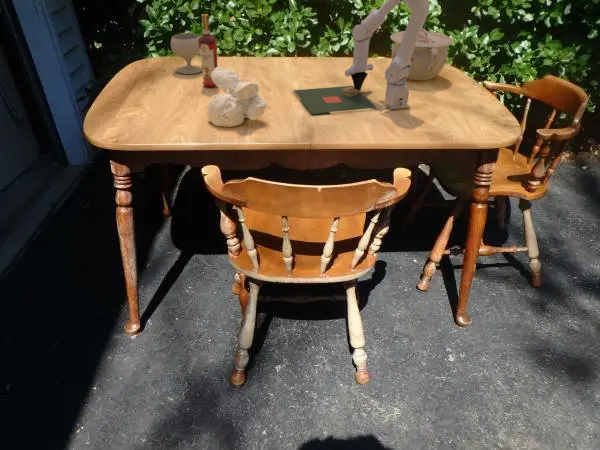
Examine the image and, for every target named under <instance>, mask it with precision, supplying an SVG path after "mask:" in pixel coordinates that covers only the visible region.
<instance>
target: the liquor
mask: <svg viewBox="0 0 600 450" xmlns="http://www.w3.org/2000/svg"><path fill="white" fill-rule="evenodd" d="M201 21H202V35H201V36H200V38H199V39H198V43H199V51H200V54H199V57H200V62H201V64H200V65H201V67H202V71H201V72H202V78H203V81H202V84H203V85H204V86H205V87H207V88H216V87H217V86H216V85H215V83H214V82H213V81H212V78H211V74H212V71H214V69H215V68H216V67H217V68H218V45H217V43H218V42H217V38H216V37H215V36H213V35H211V30H210V23H209V22H210V17H209V14H208V13H203V14H201Z"/></svg>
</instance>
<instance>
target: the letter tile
mask: <svg viewBox="0 0 600 450" xmlns="http://www.w3.org/2000/svg"><path fill="white" fill-rule="evenodd" d="M342 94H343V95H346V96H348V97H351V96H355V95H357V94H358V90H357V89H354V88H351V87H348V88H345V89H342Z"/></svg>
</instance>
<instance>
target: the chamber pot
mask: <svg viewBox="0 0 600 450" xmlns="http://www.w3.org/2000/svg"><path fill="white" fill-rule="evenodd" d="M404 33H405V30H402V31H396V32H393V33H392V34H391V35H390V36H389V38H390V40H391V41H393V42H395V43H394V45H392V47H391V52H390V53H391V55H390V56H391V61H392V60H393V59H394V58H395V57H396V55H397V52H398V49H399V47H400V44H401V41H402V38H403V36H404ZM454 43H455V40H454V39H453V38H452V37H451V36H448V35H446V34H443V33H440V32H436V31H431V30H426V29H425V28H423V27H422V30H421V32H420V35H419V38H418V40H417V43H416V45H415V48H414V51H413V53H412V56H411V58H410V59H411V61H412V64H411V73H410V75H409V76H408V77H407V80H410V81H416V82H423V81H429V80H433V79H434V78H436V77H438V75H439V74H440V72H441V71H442V70H443V69H444V67H445V65H446V62H447V61H448V55H449V50H448V47H449V46H451V45H453V44H454Z"/></svg>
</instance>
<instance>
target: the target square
mask: <svg viewBox="0 0 600 450" xmlns="http://www.w3.org/2000/svg"><path fill="white" fill-rule="evenodd" d="M322 98H323V100H324V101H325V102H326V103H336V102H342V101H341V100H340V99H339V98H338V97H337V96H333V97H322Z"/></svg>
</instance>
